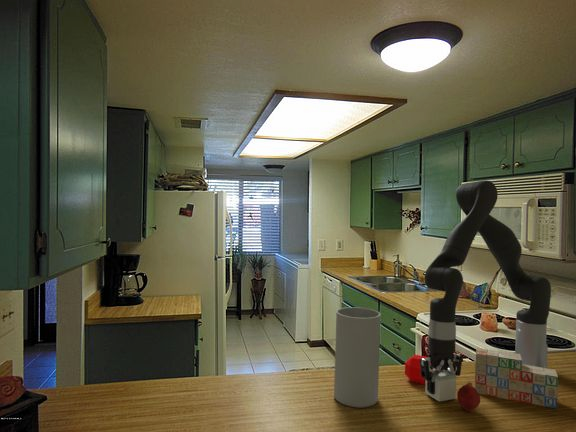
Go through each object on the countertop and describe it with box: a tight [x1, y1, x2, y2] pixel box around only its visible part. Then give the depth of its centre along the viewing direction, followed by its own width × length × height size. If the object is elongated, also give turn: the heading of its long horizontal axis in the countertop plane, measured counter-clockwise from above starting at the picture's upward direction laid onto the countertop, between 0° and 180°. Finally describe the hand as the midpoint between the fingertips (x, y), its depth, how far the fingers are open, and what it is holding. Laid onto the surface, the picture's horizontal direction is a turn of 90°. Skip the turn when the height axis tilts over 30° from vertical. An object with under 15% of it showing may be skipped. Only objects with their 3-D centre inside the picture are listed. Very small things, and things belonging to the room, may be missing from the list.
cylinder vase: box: [333, 306, 381, 409], centre depth 120 cm, size 12×12×25 cm
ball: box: [404, 354, 430, 385], centre depth 134 cm, size 8×8×8 cm
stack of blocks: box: [474, 347, 559, 410], centre depth 125 cm, size 21×6×12 cm, turn 63°
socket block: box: [424, 368, 458, 403], centre depth 122 cm, size 6×6×7 cm
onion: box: [456, 381, 481, 412], centre depth 115 cm, size 6×6×8 cm
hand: (440, 391), depth 122 cm, fingers closed on socket block, 6 cm apart
